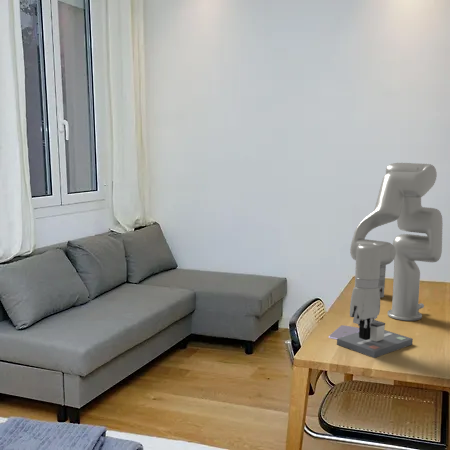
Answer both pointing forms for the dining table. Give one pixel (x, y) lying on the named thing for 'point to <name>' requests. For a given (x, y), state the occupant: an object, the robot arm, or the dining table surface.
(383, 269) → the coffee box
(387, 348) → the switch panel
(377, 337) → the slider knob
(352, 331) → the mobile phone
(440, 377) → the dining table surface
